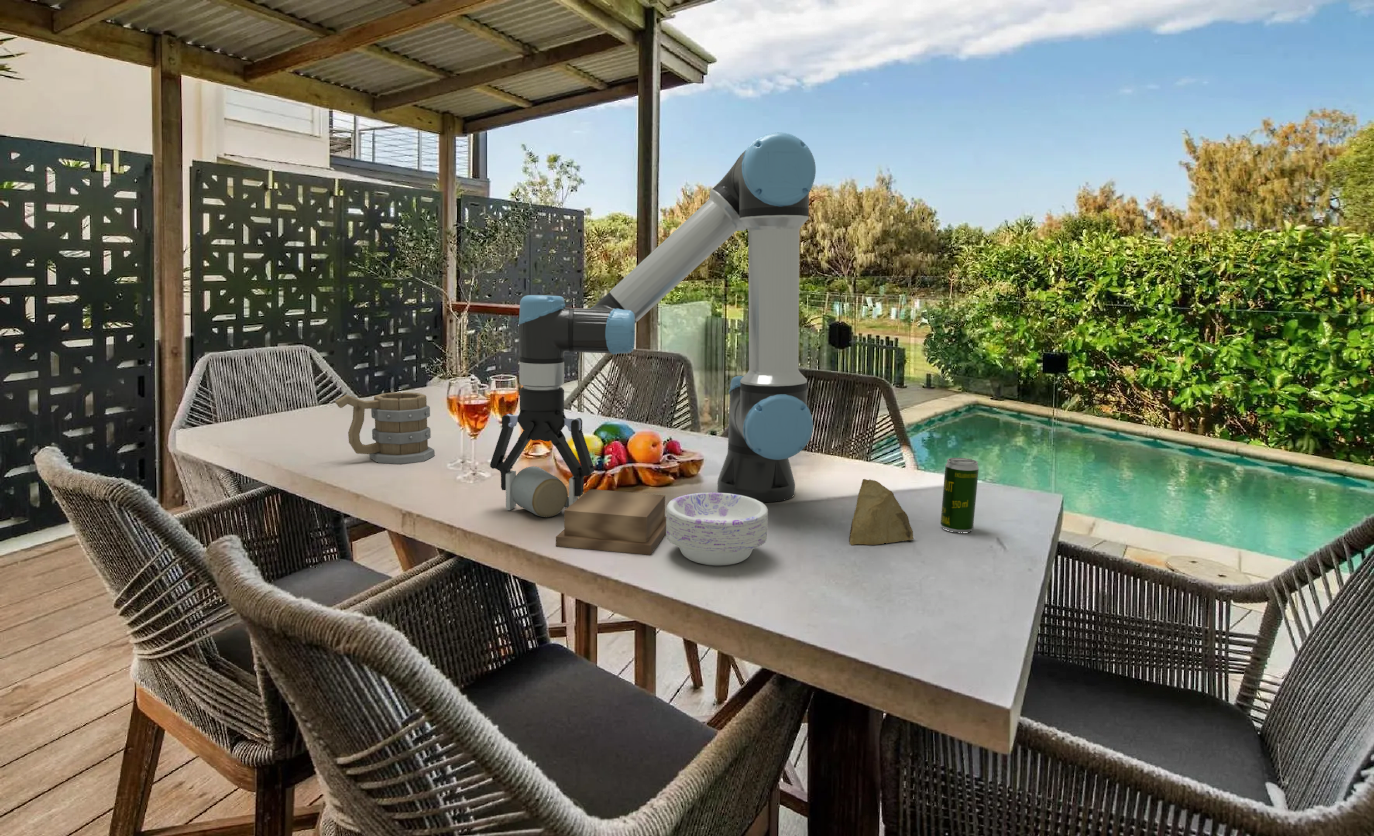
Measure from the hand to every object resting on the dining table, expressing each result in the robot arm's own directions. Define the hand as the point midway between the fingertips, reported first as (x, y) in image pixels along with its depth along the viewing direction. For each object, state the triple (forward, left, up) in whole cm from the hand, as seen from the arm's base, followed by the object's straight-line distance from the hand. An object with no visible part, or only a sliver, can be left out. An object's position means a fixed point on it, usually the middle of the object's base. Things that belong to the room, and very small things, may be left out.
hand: (542, 510), depth 141 cm
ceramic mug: (-1, -1, 0) cm, 1 cm away
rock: (-58, 0, 0) cm, 58 cm away
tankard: (+47, -28, 0) cm, 55 cm away
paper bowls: (-33, +14, 0) cm, 36 cm away
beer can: (-71, -10, 0) cm, 72 cm away
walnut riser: (-16, +9, 0) cm, 18 cm away
